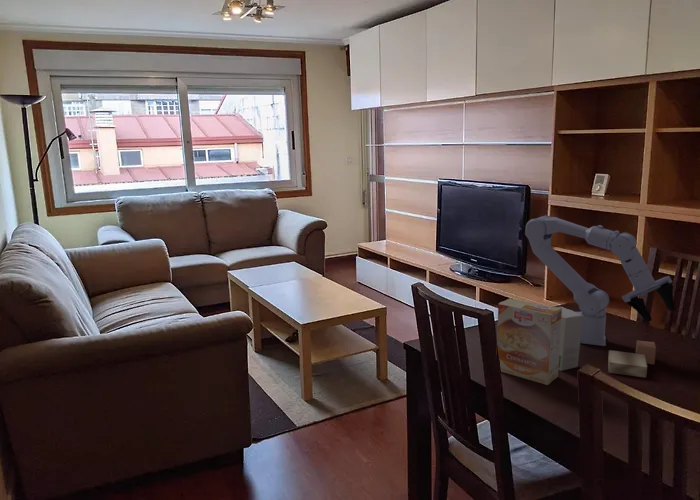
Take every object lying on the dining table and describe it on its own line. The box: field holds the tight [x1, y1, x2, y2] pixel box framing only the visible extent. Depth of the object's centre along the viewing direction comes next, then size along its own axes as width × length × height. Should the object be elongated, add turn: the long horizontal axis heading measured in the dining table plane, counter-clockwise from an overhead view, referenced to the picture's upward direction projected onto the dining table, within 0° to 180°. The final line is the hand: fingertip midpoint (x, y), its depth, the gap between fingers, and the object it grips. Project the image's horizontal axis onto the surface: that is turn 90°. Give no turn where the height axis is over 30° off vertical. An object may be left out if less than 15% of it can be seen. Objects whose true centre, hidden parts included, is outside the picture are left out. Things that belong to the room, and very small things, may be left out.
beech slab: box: [607, 349, 648, 378], centre depth 150 cm, size 9×9×3 cm
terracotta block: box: [635, 339, 657, 365], centre depth 155 cm, size 4×4×5 cm
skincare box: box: [556, 306, 583, 372], centre depth 153 cm, size 8×7×16 cm
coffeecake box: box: [496, 297, 562, 386], centre depth 147 cm, size 15×7×20 cm, turn 47°
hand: (660, 315), depth 156 cm, fingers open, 7 cm apart
